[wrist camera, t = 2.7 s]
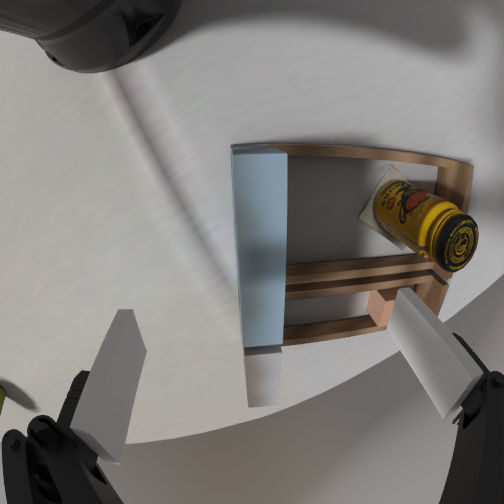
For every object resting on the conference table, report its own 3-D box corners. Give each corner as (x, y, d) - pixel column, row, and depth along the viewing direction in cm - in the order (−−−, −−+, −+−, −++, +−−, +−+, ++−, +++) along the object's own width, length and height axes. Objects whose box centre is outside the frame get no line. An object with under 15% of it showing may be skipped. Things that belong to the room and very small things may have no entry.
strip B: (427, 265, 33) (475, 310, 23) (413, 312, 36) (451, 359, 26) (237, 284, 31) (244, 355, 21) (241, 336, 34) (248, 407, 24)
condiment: (390, 164, 27) (465, 191, 16) (431, 202, 29) (498, 240, 18) (357, 217, 29) (419, 268, 18) (401, 249, 31) (459, 301, 21)
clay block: (371, 284, 33) (385, 301, 30) (396, 281, 33) (411, 297, 30) (365, 309, 35) (378, 327, 31) (389, 305, 35) (403, 322, 32)
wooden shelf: (445, 157, 26) (511, 179, 16) (429, 259, 32) (478, 302, 22) (230, 144, 24) (233, 155, 15) (237, 276, 30) (244, 347, 21)
